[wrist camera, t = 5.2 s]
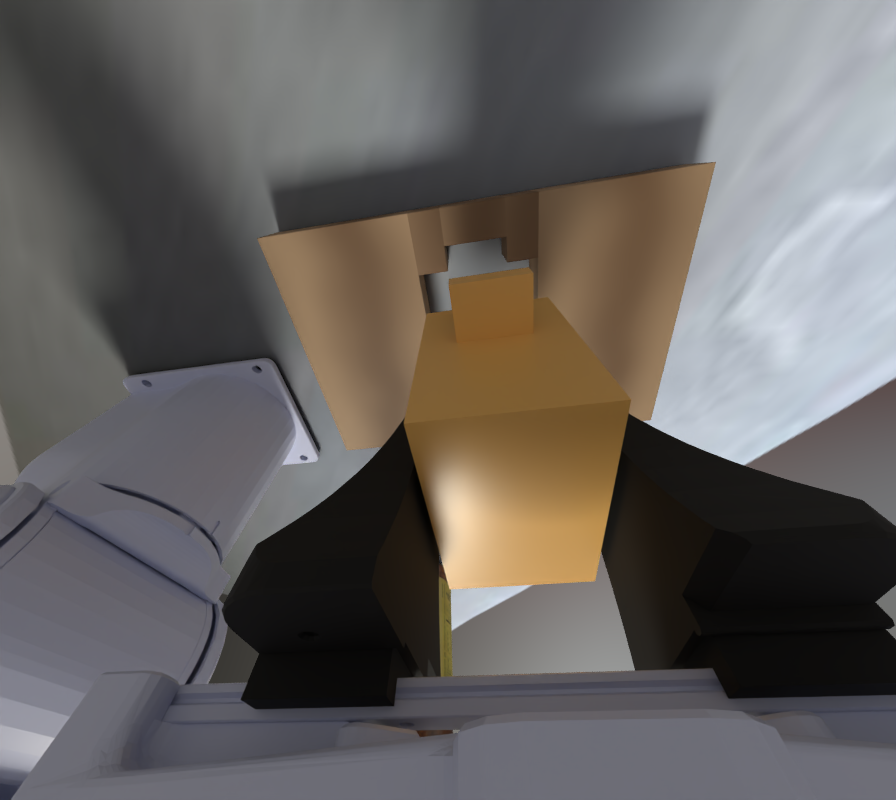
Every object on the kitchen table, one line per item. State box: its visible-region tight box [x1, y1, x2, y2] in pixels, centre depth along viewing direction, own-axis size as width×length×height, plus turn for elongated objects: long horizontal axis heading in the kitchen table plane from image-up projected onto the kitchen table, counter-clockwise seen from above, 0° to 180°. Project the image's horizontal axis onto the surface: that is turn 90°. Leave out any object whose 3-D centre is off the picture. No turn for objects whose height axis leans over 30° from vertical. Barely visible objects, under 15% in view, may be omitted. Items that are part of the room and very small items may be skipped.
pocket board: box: [257, 162, 716, 450], centre depth 17 cm, size 18×12×2 cm, turn 98°
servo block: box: [404, 267, 631, 589], centre depth 10 cm, size 4×9×6 cm, turn 8°
